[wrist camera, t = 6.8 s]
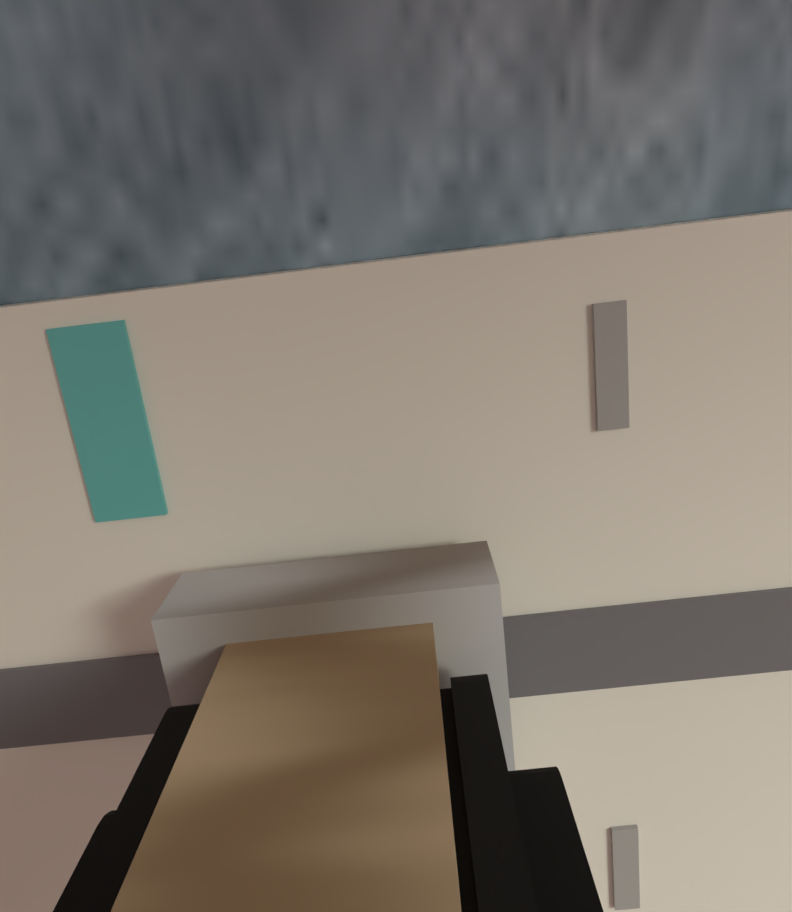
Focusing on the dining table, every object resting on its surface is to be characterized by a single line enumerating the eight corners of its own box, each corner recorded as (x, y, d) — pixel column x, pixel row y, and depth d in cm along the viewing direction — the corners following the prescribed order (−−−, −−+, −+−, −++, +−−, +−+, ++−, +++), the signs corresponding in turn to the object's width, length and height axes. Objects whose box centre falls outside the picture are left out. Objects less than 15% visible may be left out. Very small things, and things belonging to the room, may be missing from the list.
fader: (486, 540, 11) (600, 907, 5) (508, 792, 13) (618, 1324, 6) (182, 573, 11) (-80, 968, 5) (237, 819, 13) (85, 1361, 7)
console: (1269, 150, 13) (1534, 120, 10) (1129, 775, 17) (1287, 889, 14) (-102, 318, 14) (-241, 336, 11) (75, 873, 18) (9, 1000, 15)
